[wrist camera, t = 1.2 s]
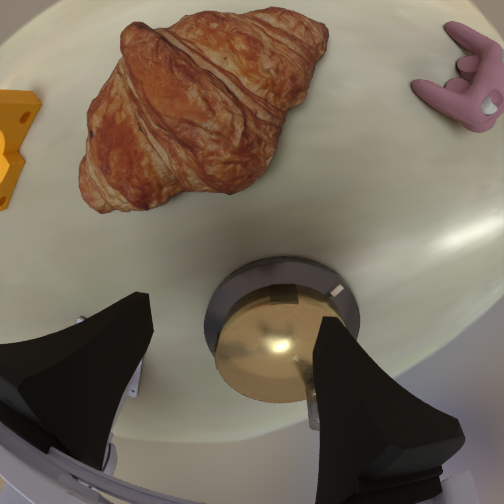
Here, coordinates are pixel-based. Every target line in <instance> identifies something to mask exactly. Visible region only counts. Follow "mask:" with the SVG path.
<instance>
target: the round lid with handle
mask: <svg viewBox="0 0 504 504" xmlns="http://www.w3.org/2000/svg"><path fill="white" fill-rule="evenodd" d="M323 316H331V317H338V318H339V320H340V321H341V322H342V323H343V325H344V326H345V323H344V321H343V318H342V315H341V313H340V311H339V309H338V308H337V306H336V305H335V304H334V302H333V301H332V300H331V299H330V298H328V297H327V296H326V295H324V294H323V293H321V292H319V291H317V290H315V289H313V288H310V287H307V286H303V285H297V284H295V283H292V284H270V285H269V286H265V287H262V288H259V289H256V290H254V291H252V292H250V293H248V294H246V295H245V296H243V297H241V298H240V299H239V300H238V301H237V302H235V304H234V305H233V306H232V307H231V308H230V309H229V311H228V312H227V314H226V316H225V318H224V321H223V324H222V328H221V333H218V335H217V339H216V343H215V347H214V352H213V353H214V358H215V363H216V368H217V369H218V370H219V372H220V374H221V376H222V378H223V379H224V380H225V382H226V383H227V384H228V385H229V386H231V387H232V388H233V389H234V390H236V391H237V392H239V393H240V394H242V395H244V396H247V397H249V398H252V399H255V400H258V401H263V402H269V403H292V402H298V401H302V400H306V399H307V407H308V417H309V426H310V428H311V429H313V430H317V431H320V424H319V414H318V406H317V399H316V393H315V386H314V379H313V362H312V352H313V349H314V346H315V342H316V339H317V335H318V332H319V328H320V325H321V321H322V318H323ZM345 327H346V326H345ZM346 328H347V327H346ZM347 330H348V328H347Z"/></svg>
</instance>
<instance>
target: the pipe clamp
mask: <svg viewBox="0 0 504 504" xmlns="http://www.w3.org/2000/svg"><path fill="white" fill-rule="evenodd" d="M41 106H42V103H41V102H40V101H39V99H38V98H37V97H36V95H35V94H34V93H33V92H32V91H21V90H0V211H3V210H5V209H7V206H8V203H9V201H10V198H11V195H12V192H13V190H14V187H15V185H16V182H17V180H18V177H19V175H20V173H21V170H22V168H23V166H24V163H25V160H24V159H23V158H22V156H21V155H20V153H19V152H18V151H19V148H20V146H21V144H22V142H23V140H24V138H25V136H26V134H27V132H28V130H29V128H30V126H31V124H32V122H33V120H34V118H35V117H36V115H37V113H38V111H39V109H40V108H41Z"/></svg>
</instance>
